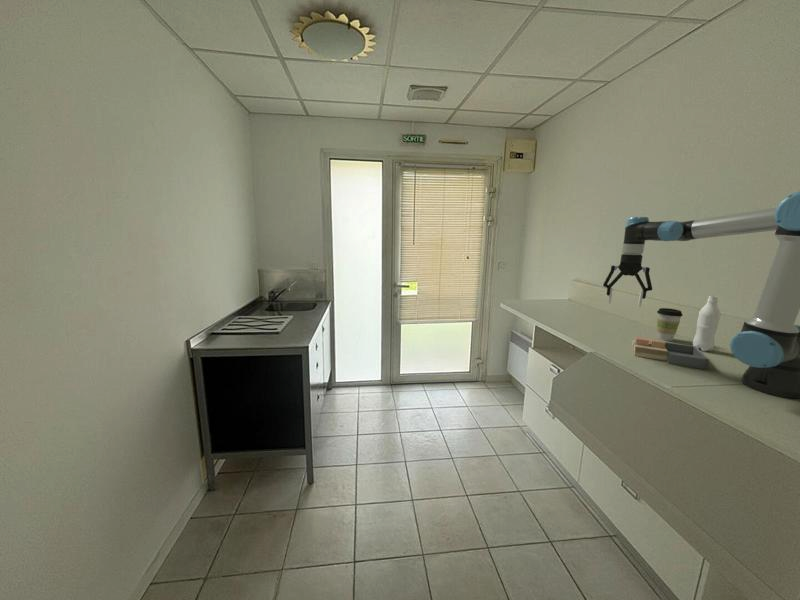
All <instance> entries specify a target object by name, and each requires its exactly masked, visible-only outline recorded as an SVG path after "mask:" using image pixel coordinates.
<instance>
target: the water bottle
mask: <svg viewBox="0 0 800 600" xmlns="http://www.w3.org/2000/svg"><path fill="white" fill-rule="evenodd" d="M718 298H719V296H718V295H709V296H708V299H706V301H707V302H706V304H705V305H703V306H702V308H701V309H700V310H699V312H698V317H697V321H696V332H695V335H694V338H693V340H692V346H696V347H697V348H698V349H699V350H700V349H701V350H700V351H701V352H711V351H713V348H714V347H715V336H716V332H717V330H718V327H719V322H720V318H721V316H722V314H721V311H720V309H719V307H718V303H719V300H718Z"/></svg>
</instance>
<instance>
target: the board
mask: <svg viewBox="0 0 800 600" xmlns="http://www.w3.org/2000/svg"><path fill="white" fill-rule="evenodd" d="M634 341H635V338H632V341H631V347H630V348H631V350H632V353H633V355H634V356H636V357H640V358H648V359H653V360H659V361H665V362H667V356H668V351H667V349H666V348H665V347H664V349H663V348H656V347H651V346H650V341H649V345H648V346H643V345H636V344H635V342H634Z"/></svg>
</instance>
